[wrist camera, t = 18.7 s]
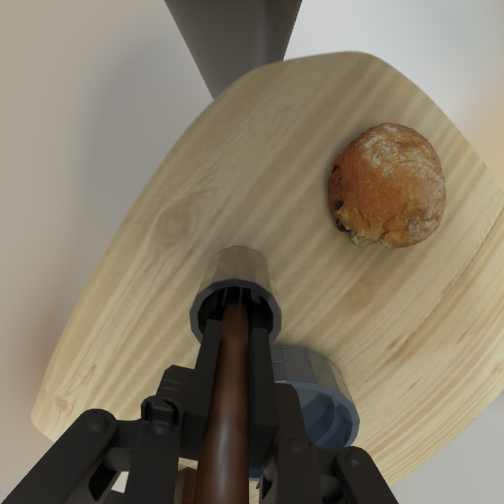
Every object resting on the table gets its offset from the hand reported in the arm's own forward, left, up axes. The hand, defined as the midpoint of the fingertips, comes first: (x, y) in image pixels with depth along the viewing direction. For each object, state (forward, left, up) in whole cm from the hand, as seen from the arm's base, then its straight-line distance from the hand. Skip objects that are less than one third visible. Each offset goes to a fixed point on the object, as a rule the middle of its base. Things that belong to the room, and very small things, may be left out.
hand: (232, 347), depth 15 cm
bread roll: (-10, +10, -11) cm, 18 cm away
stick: (0, 0, -10) cm, 10 cm away
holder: (0, 0, -11) cm, 11 cm away
